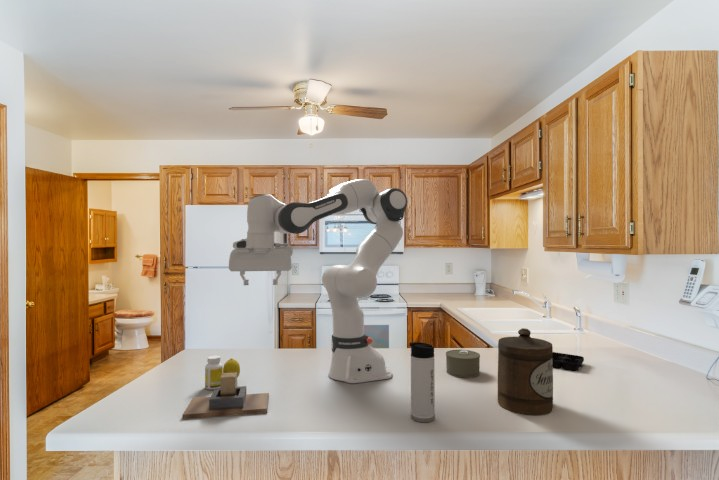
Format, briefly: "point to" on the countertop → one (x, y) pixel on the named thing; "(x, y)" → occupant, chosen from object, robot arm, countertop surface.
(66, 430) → the countertop surface
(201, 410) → the dock board
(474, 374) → the can
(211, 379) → the supplement bottle
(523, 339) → the wooden container
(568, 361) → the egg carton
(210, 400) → the collar
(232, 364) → the lemon
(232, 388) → the square bar
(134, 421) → the countertop surface
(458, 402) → the countertop surface
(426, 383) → the travel mug
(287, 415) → the countertop surface
